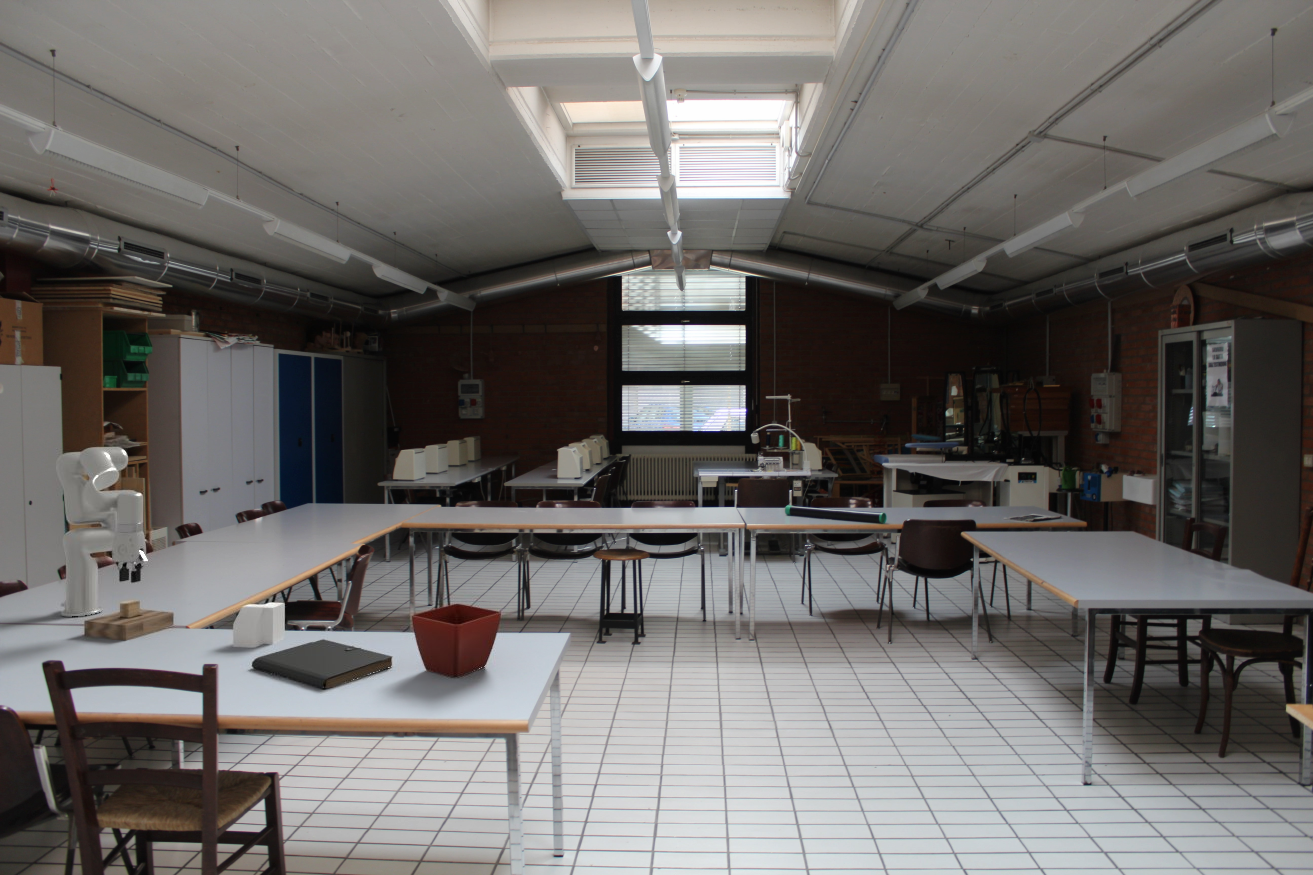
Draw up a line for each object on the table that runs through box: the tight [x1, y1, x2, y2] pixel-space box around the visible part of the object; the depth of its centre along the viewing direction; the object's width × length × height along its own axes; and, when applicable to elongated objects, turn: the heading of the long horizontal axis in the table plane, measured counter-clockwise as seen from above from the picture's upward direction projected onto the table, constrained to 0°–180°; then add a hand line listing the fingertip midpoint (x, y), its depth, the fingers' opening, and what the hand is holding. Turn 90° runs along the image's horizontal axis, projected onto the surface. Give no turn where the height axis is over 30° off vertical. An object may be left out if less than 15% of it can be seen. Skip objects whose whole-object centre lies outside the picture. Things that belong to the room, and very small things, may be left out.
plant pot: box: [411, 603, 502, 679], centre depth 233 cm, size 19×19×17 cm
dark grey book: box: [251, 639, 393, 691], centre depth 232 cm, size 33×4×24 cm
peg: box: [119, 600, 141, 619], centre depth 268 cm, size 4×4×10 cm
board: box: [83, 608, 175, 641], centre depth 268 cm, size 18×18×5 cm
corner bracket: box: [232, 601, 286, 649], centre depth 257 cm, size 11×11×12 cm
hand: (130, 580), depth 267 cm, fingers open, 4 cm apart
